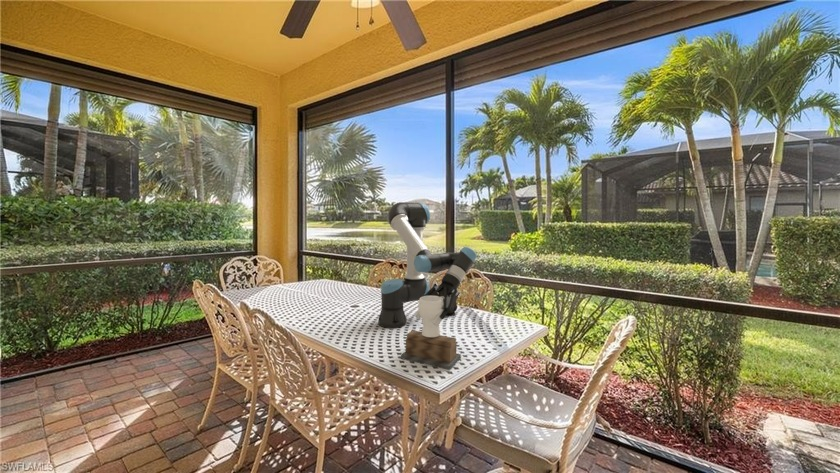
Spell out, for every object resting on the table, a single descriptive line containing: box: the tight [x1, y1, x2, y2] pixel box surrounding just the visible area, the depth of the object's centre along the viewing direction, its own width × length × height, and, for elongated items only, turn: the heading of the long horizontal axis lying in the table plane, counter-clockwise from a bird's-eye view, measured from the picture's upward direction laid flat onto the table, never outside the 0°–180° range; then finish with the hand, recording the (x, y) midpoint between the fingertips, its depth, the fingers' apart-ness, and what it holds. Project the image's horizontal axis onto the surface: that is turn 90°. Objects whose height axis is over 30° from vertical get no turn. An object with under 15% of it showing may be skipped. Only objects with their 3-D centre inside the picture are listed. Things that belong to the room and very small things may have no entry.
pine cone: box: [442, 297, 458, 317], centre depth 204 cm, size 10×18×10 cm, turn 87°
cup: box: [417, 296, 444, 337], centre depth 144 cm, size 11×11×15 cm
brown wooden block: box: [400, 329, 462, 371], centre depth 145 cm, size 22×12×10 cm, turn 64°
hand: (425, 321), depth 142 cm, fingers closed on cup, 10 cm apart
